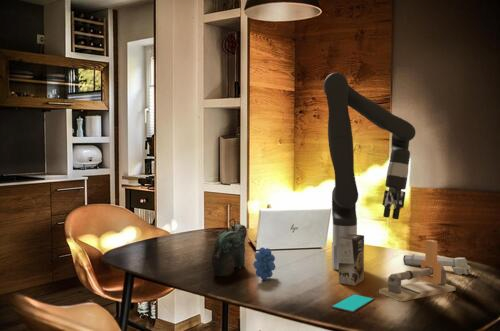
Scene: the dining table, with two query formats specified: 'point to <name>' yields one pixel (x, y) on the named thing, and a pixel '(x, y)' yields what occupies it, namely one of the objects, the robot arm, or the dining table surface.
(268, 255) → the grapes
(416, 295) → the pipe stand
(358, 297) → the smartphone
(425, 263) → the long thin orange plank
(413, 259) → the toothbrush head
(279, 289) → the dining table surface
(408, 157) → the robot arm
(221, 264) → the dark green backpack
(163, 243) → the dining table surface
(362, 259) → the coffee box
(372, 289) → the dining table surface
